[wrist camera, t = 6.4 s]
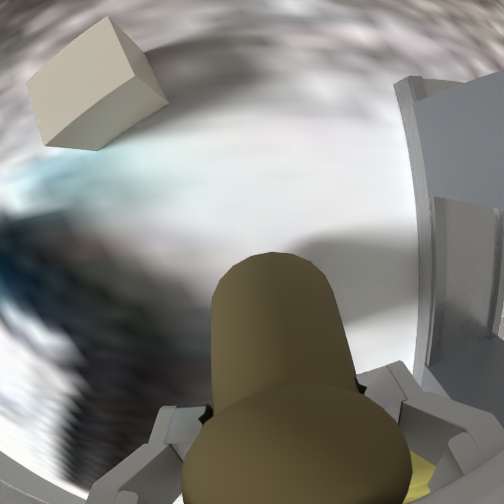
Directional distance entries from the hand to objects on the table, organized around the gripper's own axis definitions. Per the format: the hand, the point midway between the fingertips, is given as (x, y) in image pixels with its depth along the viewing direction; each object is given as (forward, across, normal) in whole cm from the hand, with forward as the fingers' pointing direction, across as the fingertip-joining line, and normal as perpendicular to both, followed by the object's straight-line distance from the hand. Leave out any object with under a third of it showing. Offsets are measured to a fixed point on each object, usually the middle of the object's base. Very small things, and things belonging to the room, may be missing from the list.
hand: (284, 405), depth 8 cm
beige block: (+9, +6, -13) cm, 17 cm away
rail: (+9, -13, +2) cm, 16 cm away
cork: (+7, 0, 0) cm, 7 cm away
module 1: (+7, -13, -6) cm, 16 cm away
